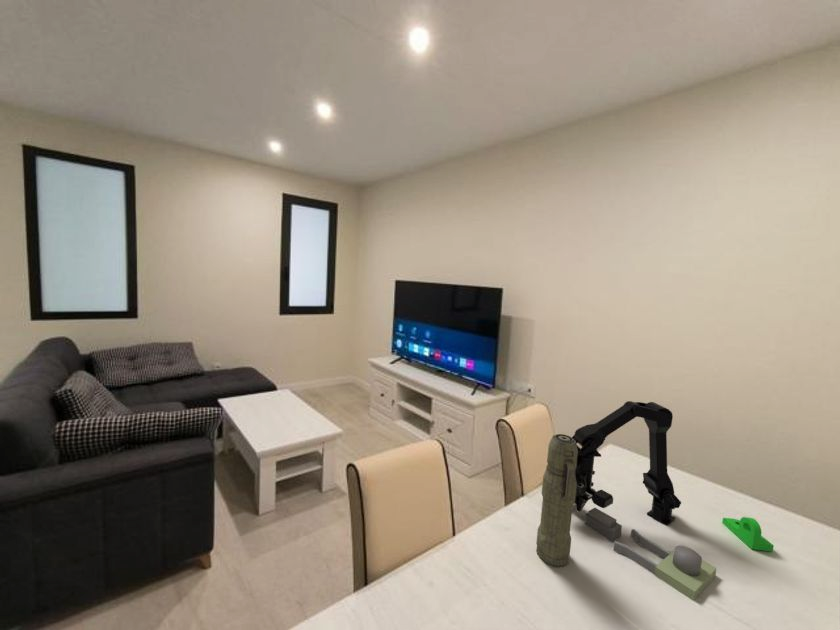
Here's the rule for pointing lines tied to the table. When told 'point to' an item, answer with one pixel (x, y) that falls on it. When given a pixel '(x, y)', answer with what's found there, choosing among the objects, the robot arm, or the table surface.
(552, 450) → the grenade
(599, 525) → the two tier gray step
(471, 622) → the table surface
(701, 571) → the green block with prongs
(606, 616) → the table surface
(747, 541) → the mechanical part
